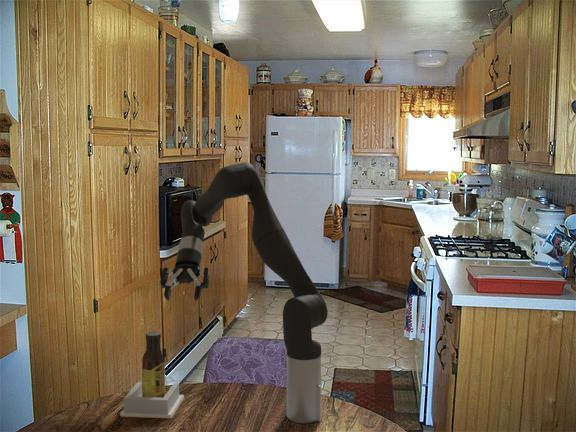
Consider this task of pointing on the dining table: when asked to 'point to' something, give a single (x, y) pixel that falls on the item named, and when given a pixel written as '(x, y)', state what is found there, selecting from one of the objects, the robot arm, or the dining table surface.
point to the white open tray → (151, 403)
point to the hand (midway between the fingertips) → (181, 299)
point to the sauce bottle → (153, 367)
